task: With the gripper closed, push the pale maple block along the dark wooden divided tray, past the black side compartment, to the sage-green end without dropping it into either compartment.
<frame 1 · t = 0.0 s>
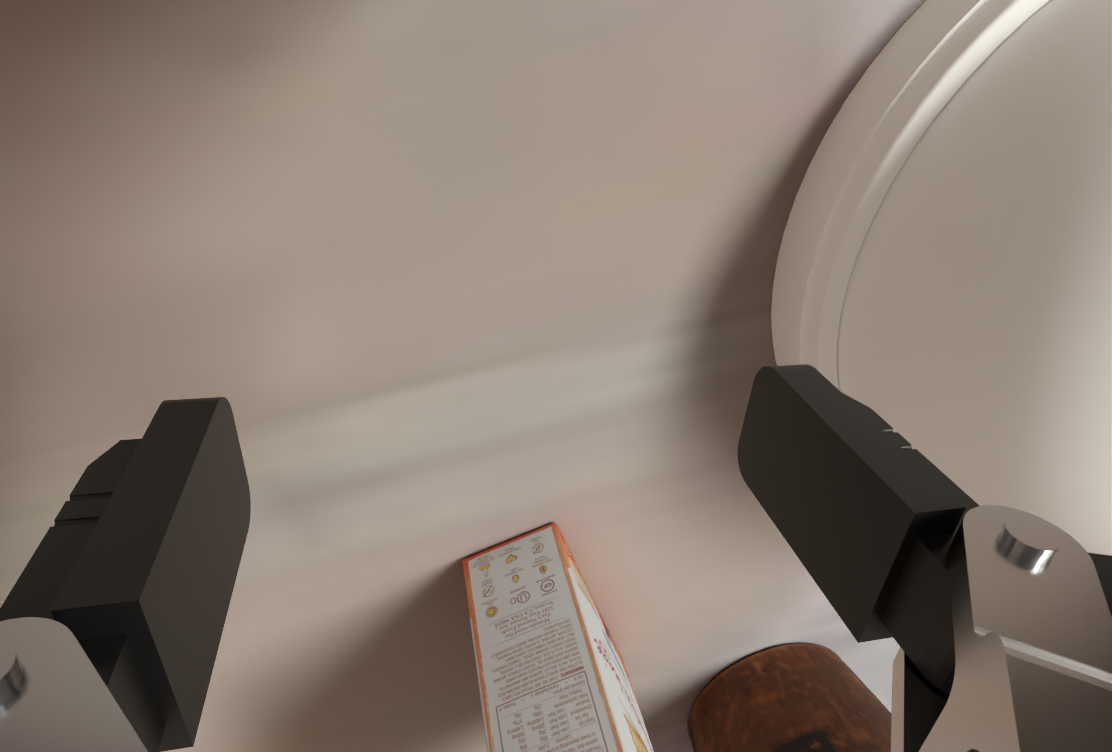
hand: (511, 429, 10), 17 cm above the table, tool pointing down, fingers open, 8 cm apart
cracker box: (549, 604, 40), on the table
dome cover: (1048, 233, 33), on the table
brown plant pot: (766, 693, 51), on the table
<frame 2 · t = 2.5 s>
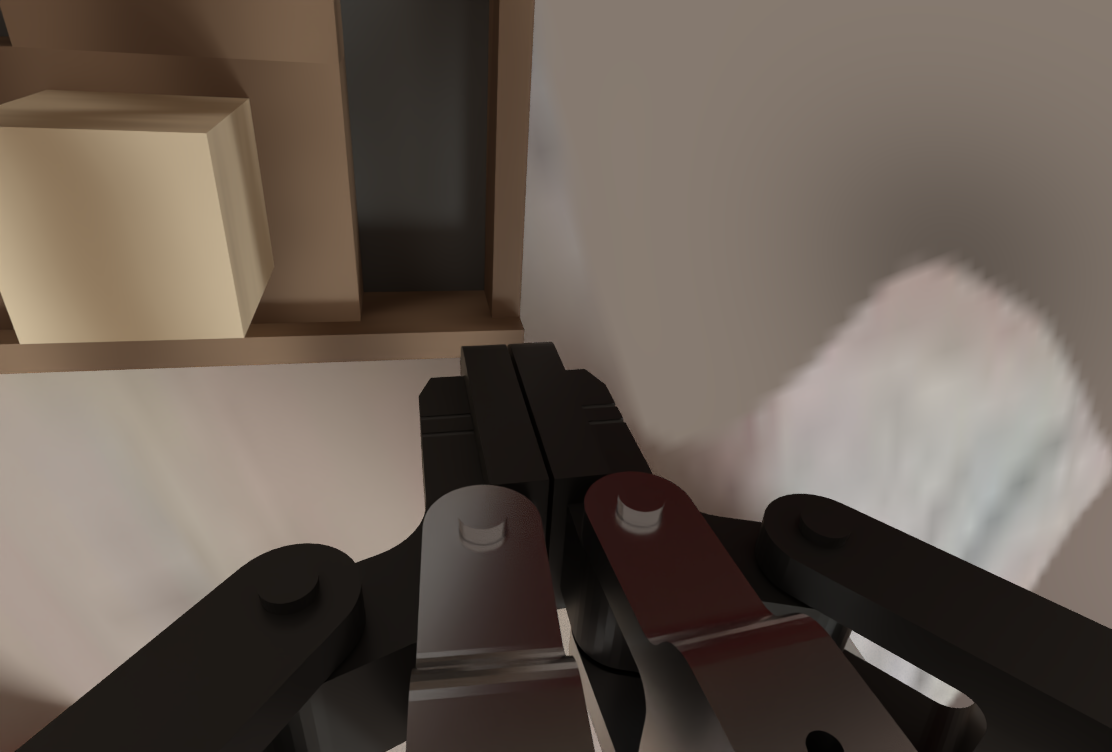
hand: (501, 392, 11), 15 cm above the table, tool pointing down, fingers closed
maple block: (171, 186, 19), point 3 cm above the table, touching wooden divided tray
wooden divided tray: (100, 40, 20), on the table
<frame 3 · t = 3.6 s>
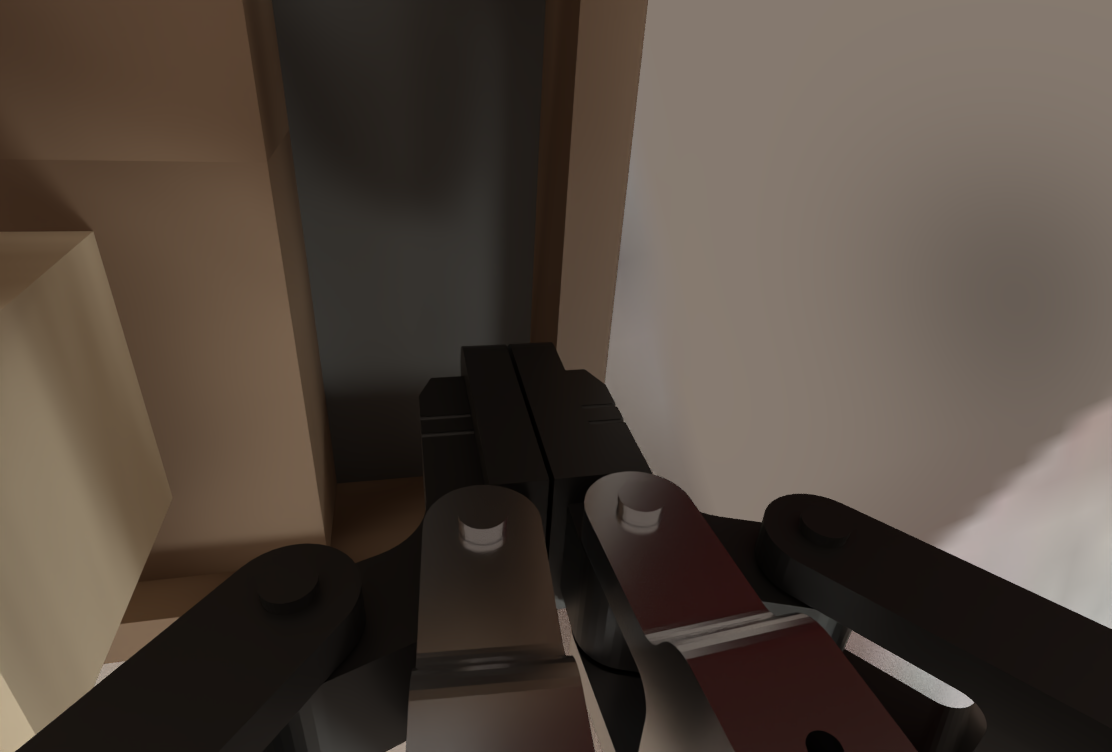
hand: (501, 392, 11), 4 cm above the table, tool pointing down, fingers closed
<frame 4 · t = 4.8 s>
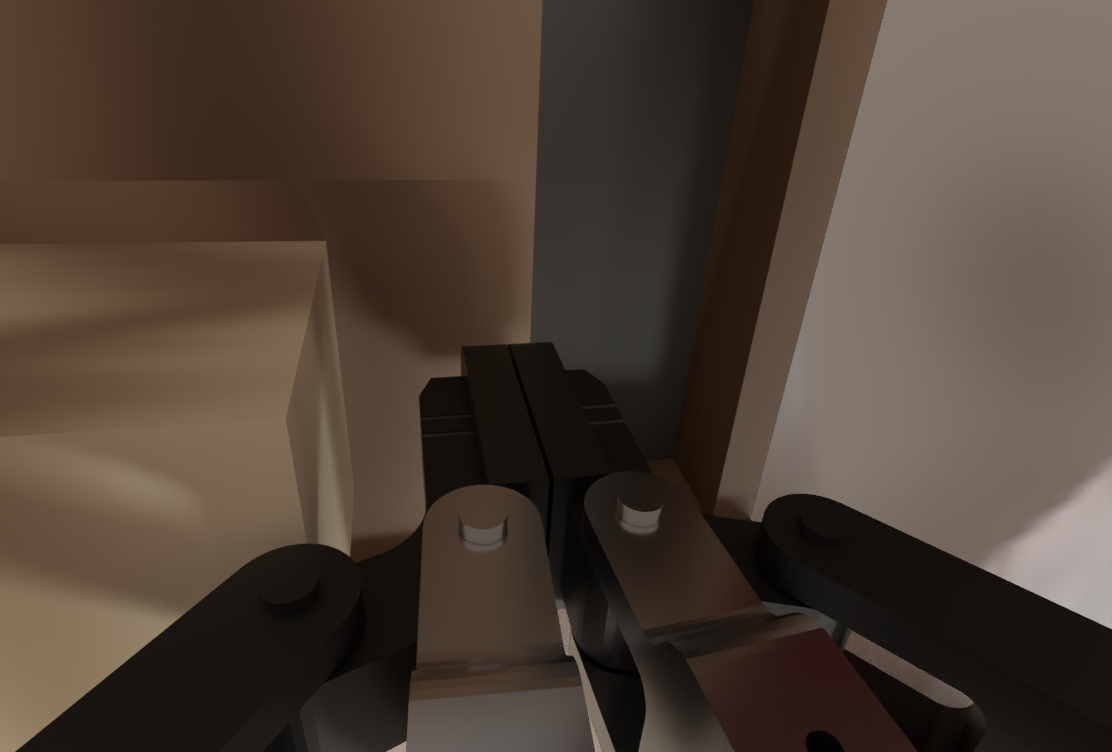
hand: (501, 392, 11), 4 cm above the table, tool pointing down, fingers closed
maple block: (185, 386, 11), point 3 cm above the table, touching gripper
wooden divided tray: (112, 137, 12), on the table
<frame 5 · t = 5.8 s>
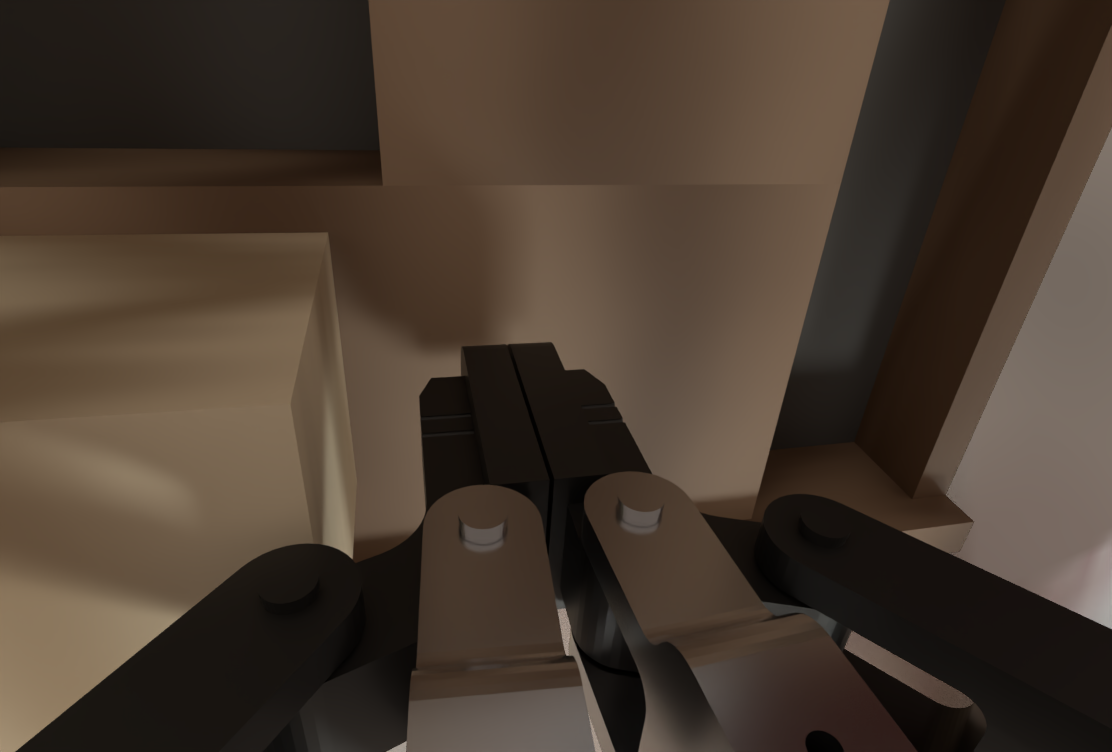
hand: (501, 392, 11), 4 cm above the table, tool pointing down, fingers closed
maple block: (188, 378, 11), point 3 cm above the table, touching gripper
wooden divided tray: (435, 145, 13), on the table
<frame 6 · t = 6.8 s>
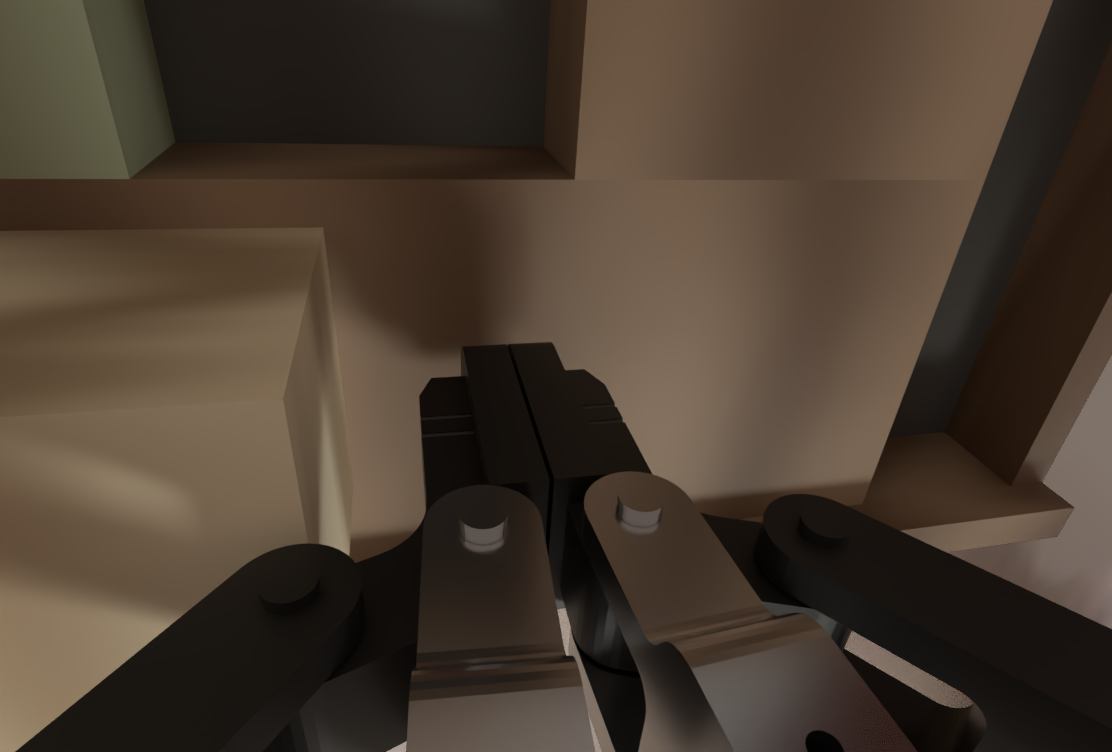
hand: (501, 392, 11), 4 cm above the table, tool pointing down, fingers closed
maple block: (182, 376, 11), point 3 cm above the table, touching gripper, wooden divided tray
wooden divided tray: (586, 141, 14), on the table
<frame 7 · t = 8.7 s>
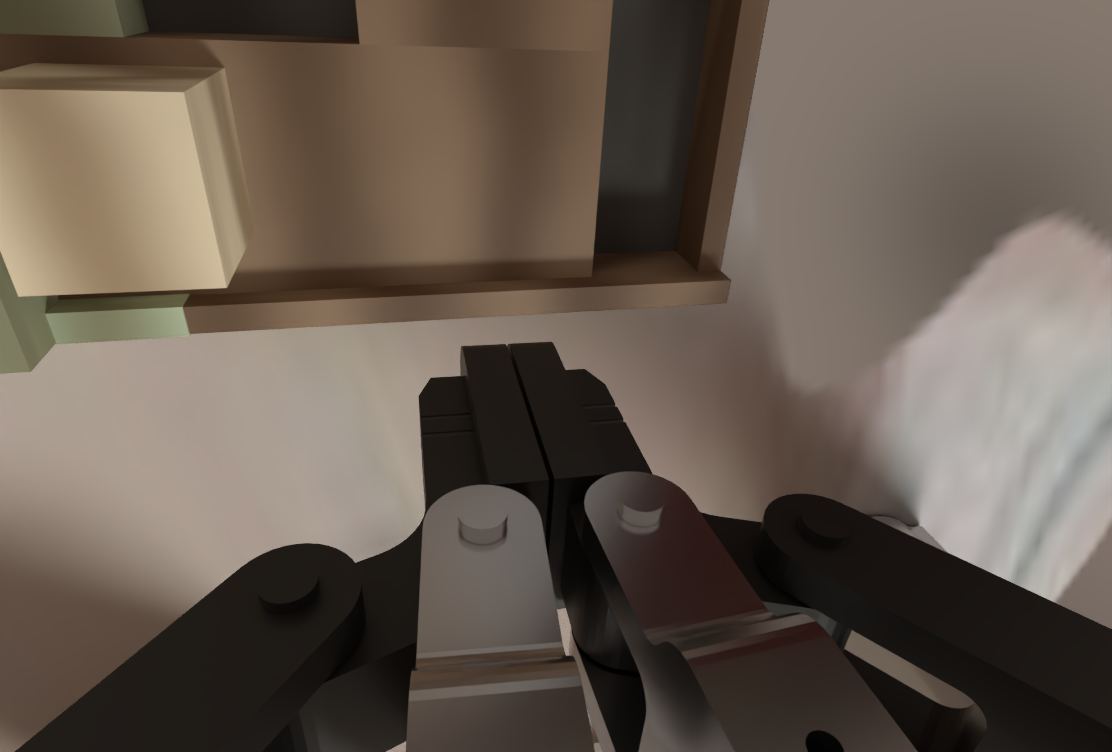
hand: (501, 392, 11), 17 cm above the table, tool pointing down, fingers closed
maple block: (154, 153, 21), point 3 cm above the table, touching wooden divided tray
wooden divided tray: (391, 37, 23), on the table
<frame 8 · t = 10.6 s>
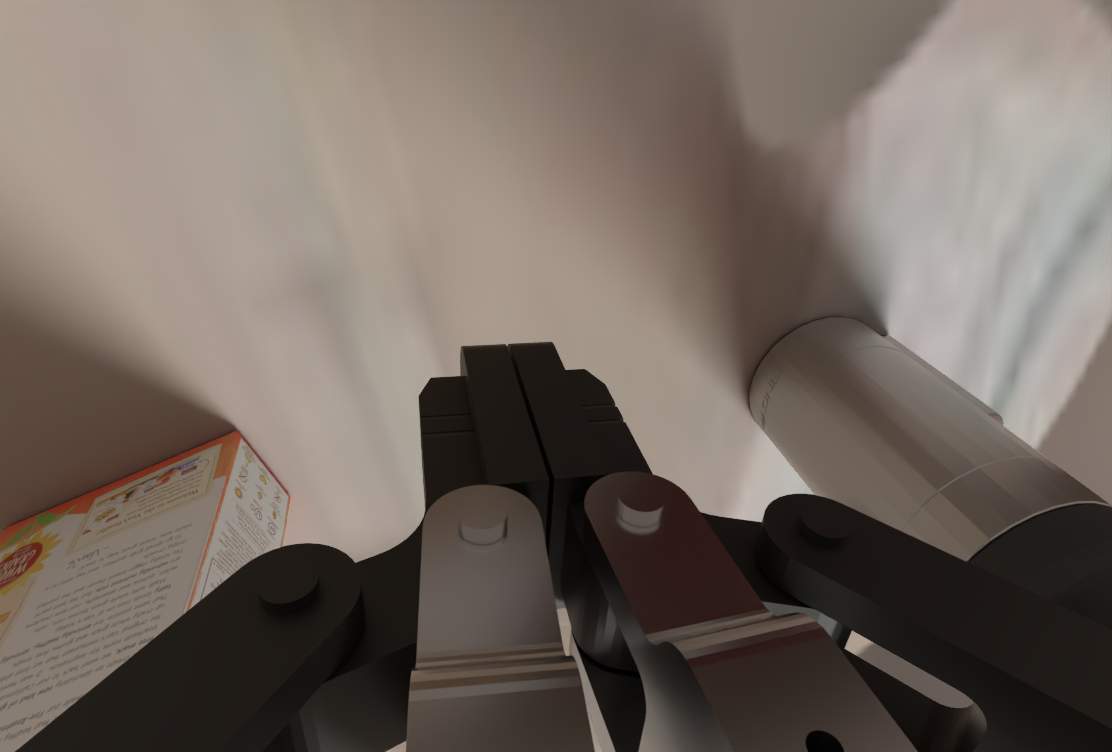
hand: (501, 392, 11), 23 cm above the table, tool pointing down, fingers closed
cracker box: (158, 508, 38), on the table
dome cover: (540, 699, 55), on the table
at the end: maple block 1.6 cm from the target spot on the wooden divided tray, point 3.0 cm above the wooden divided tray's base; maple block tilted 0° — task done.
